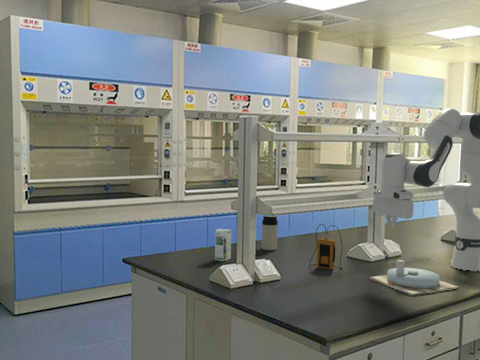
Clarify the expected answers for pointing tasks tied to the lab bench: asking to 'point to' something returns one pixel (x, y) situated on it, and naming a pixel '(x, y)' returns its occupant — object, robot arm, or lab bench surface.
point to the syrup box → (222, 244)
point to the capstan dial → (412, 276)
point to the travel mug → (269, 233)
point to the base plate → (411, 290)
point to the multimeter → (326, 252)
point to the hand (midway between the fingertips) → (391, 226)
